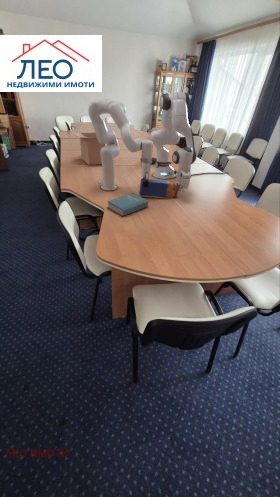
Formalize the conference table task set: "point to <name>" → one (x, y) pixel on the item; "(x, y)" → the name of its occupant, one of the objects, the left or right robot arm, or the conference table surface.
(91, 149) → the box
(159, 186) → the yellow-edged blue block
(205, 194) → the conference table surface
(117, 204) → the book
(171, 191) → the drawer
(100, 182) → the left robot arm
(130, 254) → the conference table surface
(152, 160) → the laser sight
